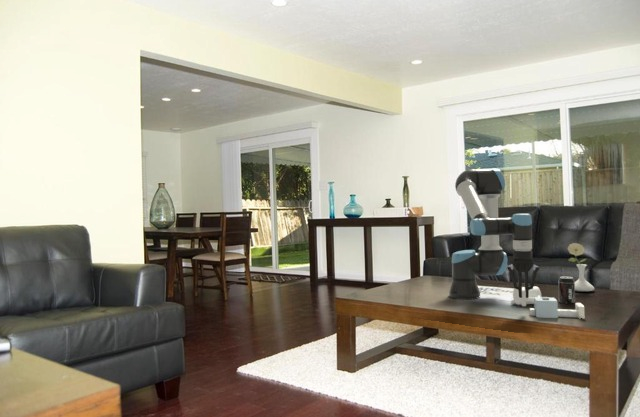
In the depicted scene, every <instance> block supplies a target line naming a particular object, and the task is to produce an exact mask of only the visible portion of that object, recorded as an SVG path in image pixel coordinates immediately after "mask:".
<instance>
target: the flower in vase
mask: <svg viewBox="0 0 640 417" xmlns="http://www.w3.org/2000/svg"><path fill="white" fill-rule="evenodd" d="M567 250H568V252H569V254H570V255H574V256H575V257H570V258H568V259H567V261H568V262H573V263H574V262H577V264H576V265H575V266H576V267H577V269H578V273H579V274H578V279H577V280H576V281H575V292H583V293H584V292H585V293H587V292H588V293H589V292H592V291H594V290H595V286H593V285H592V284H591V283H590V282H589V281H587V280H586V278H585V269H586V267H587V266H588V264H583V263H582V262H585V261H586V260H587V258H584V259H580V261H579V260H578V259H577V257H578V256H581V255H583V254H584V253H585V248H584V246H583V245H582V244H580V243H576V242H573V243H570V244H569V245H568V247H567Z"/></svg>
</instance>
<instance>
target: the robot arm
mask: <svg viewBox="0 0 640 417" xmlns="http://www.w3.org/2000/svg"><path fill="white" fill-rule="evenodd" d="M454 187H455V191H456V193H457V195H458V196H460V198H461V199H462V201H463V203H464V206H465V207H466V210H467V212H468V215H469V217H470V218H471V219H470V222H469V229H470V234H472V235H473V236H481V237H480V238H481V239H480V240H481V242H480V243H481V244H480V246H479V248H478V252H476V250H475V249H464V250H458V251H456V252H453V253H452V254H451V275H452V276H451V277H452V278H451V279H452V282H451V285H450V288H449V291H448V296H449V298H451V299H459V300H473V299H474V300H475V299H479V298H480V297H481V292H480V289H479V287H478V284H477V276H479V277H480V276H500V275H501V276H502V275H503V274H504V273H505V272H506V270H508V271H509V275H510V277H511V282H512V285H513V287H514V288H515V289H518V290H519V298H521V300H522V305H521V307H527V304H526V298H528V297H529V292H528V291H529V290H530V289H533V287H535V282H536V277H537V273H538V272H539V270H540V267H539V266H538V265H536V264H534V260H533V251H532V249H533V239H532V238H533V221H532V215H531V214H530V213H514V214H512V216H510V217H508V216H507V217H499V197H501V195H502V192H503V191H504V190H505V187H506V181H505V176H504V174H503V172H502V170H500V169H499V168H469V169H466V170H464V171H463V172H461V173H460V174H459V175H458V176H457V178H456V180H455V185H454ZM507 235H508V236H509V235H510V236H511V235H512V249H513V251H512V256H513V257H512V258H513V259H512V261H511V262H512V263H511V264H509V265H508V255H507V253H506V252H504V251H503V250H504V249H503V248H502V246H500V236H507ZM514 269H515V270H516V271H517V276H518V277H517V280H518V281H516V278H515V274H514V271H513V270H514ZM531 270H532V274H531V279H530V282H529V272H530V271H531ZM523 273H524V287H525V290H522V287H523V280H522V279H523V277H522V275H523ZM517 283H518V284H517ZM514 288H513V289H514ZM479 296H480V297H479Z"/></svg>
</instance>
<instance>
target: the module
mask: <svg viewBox="0 0 640 417" xmlns="http://www.w3.org/2000/svg"><path fill="white" fill-rule="evenodd" d="M533 307H534V308H536V316H535V317H536V318H542V319H543V318H546V319H547V318H549V319H558V318H559V317H558V309H559V308H558V300H557V299H556V297H549V296H542V297H534V304H533Z"/></svg>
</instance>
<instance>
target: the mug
mask: <svg viewBox="0 0 640 417" xmlns="http://www.w3.org/2000/svg"><path fill="white" fill-rule="evenodd" d="M522 290H525V286H522ZM528 292H529V297H528V298H526V305H534V297H543V296H542V291H541V290H540V287H538V286H533V289H530V290H529V291H528ZM512 297H513V301H514V303H515V305H518V306H519V305H521V306H522V300H521V298H519V290H518V289H515V288H513V292H512Z"/></svg>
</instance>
